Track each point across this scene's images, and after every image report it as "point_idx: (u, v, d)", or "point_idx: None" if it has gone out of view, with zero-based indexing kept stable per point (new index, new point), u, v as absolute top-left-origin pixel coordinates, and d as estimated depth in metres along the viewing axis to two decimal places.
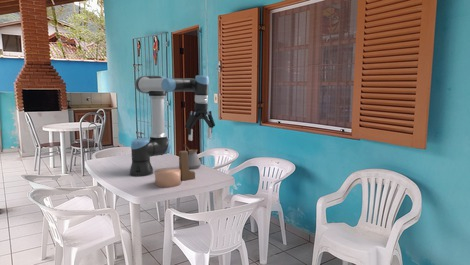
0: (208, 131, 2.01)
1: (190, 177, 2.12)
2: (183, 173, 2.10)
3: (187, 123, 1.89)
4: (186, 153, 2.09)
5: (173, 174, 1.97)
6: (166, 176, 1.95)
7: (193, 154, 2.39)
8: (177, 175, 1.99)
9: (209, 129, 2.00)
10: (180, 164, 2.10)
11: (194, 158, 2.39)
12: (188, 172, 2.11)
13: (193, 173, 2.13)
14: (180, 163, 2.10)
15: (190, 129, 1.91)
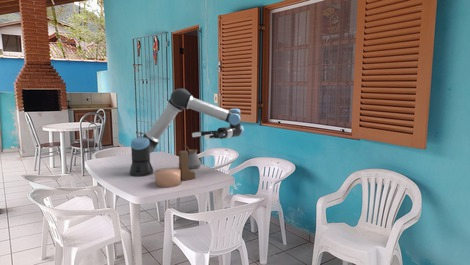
0: (198, 133, 2.23)
1: (190, 177, 2.12)
2: (183, 173, 2.10)
3: (219, 136, 2.15)
4: (186, 153, 2.09)
5: (173, 174, 1.97)
6: (166, 176, 1.95)
7: (193, 154, 2.39)
8: (177, 175, 1.99)
9: (199, 135, 2.24)
10: (180, 164, 2.10)
11: (194, 158, 2.39)
12: (188, 172, 2.11)
13: (193, 173, 2.13)
14: (180, 163, 2.10)
15: None
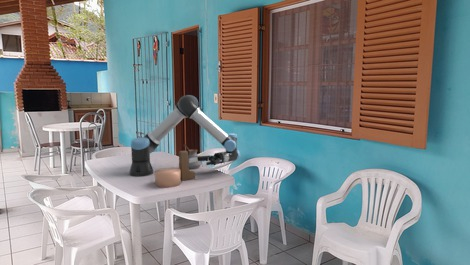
0: (194, 159, 2.24)
1: (190, 177, 2.12)
2: (183, 173, 2.10)
3: (216, 162, 2.16)
4: (186, 153, 2.09)
5: (173, 174, 1.97)
6: (166, 176, 1.95)
7: (193, 154, 2.39)
8: (177, 175, 1.99)
9: (196, 160, 2.25)
10: (180, 164, 2.10)
11: None
12: (188, 172, 2.11)
13: (193, 173, 2.13)
14: (180, 163, 2.10)
15: None
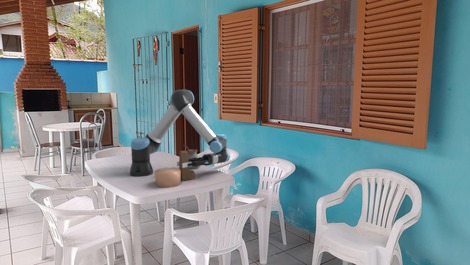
0: None
1: (190, 177, 2.12)
2: (183, 173, 2.10)
3: (198, 164, 2.11)
4: (186, 153, 2.08)
5: (173, 174, 1.97)
6: (166, 176, 1.95)
7: (193, 154, 2.39)
8: (177, 175, 1.99)
9: None
10: (180, 164, 2.10)
11: None
12: (189, 172, 2.11)
13: (193, 173, 2.13)
14: (180, 163, 2.10)
15: None
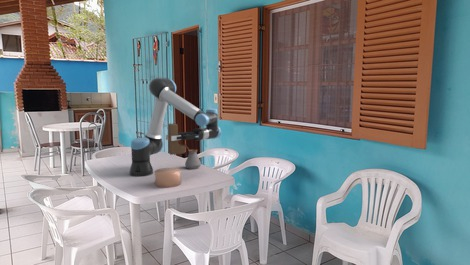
0: None
1: (179, 152, 2.03)
2: (172, 147, 2.00)
3: (188, 137, 2.02)
4: (176, 126, 1.99)
5: (173, 174, 1.97)
6: (166, 176, 1.95)
7: (193, 154, 2.39)
8: (177, 175, 1.99)
9: None
10: (169, 137, 2.00)
11: (194, 158, 2.39)
12: (178, 145, 2.02)
13: (183, 147, 2.04)
14: (169, 136, 2.00)
15: (181, 138, 2.02)
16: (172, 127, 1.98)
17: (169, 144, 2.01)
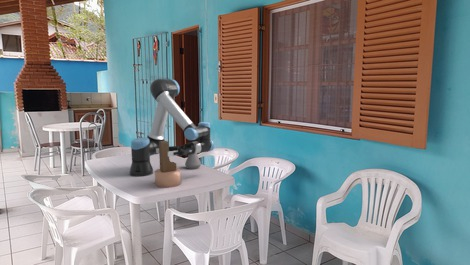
0: None
1: (171, 169, 2.00)
2: (164, 164, 1.98)
3: (184, 152, 1.98)
4: (167, 143, 1.97)
5: (173, 174, 1.97)
6: (166, 176, 1.95)
7: (193, 154, 2.39)
8: (177, 175, 1.99)
9: None
10: (160, 155, 1.98)
11: (194, 158, 2.39)
12: (170, 163, 2.00)
13: (174, 164, 2.01)
14: (160, 154, 1.98)
15: None
16: (163, 144, 1.96)
17: (160, 162, 1.99)
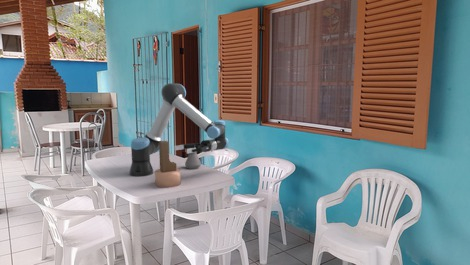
0: (180, 146, 2.14)
1: (171, 169, 2.00)
2: (164, 164, 1.98)
3: (202, 149, 2.07)
4: (167, 143, 1.97)
5: (173, 174, 1.97)
6: (166, 176, 1.95)
7: (193, 154, 2.39)
8: (177, 175, 1.99)
9: (182, 148, 2.15)
10: (160, 155, 1.98)
11: (194, 158, 2.39)
12: (170, 163, 2.00)
13: (174, 164, 2.01)
14: (160, 154, 1.98)
15: None
16: (163, 145, 1.96)
17: (160, 162, 1.99)
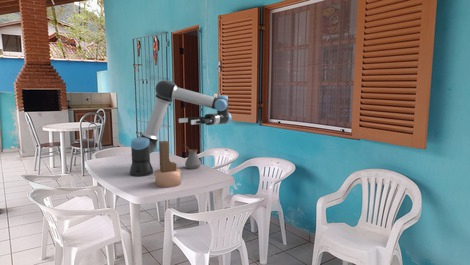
0: (184, 119, 2.20)
1: (171, 169, 2.00)
2: (164, 164, 1.98)
3: (206, 121, 2.13)
4: (167, 143, 1.97)
5: (173, 174, 1.97)
6: (166, 176, 1.95)
7: (193, 154, 2.39)
8: (177, 175, 1.99)
9: (186, 120, 2.21)
10: (160, 155, 1.98)
11: (194, 158, 2.39)
12: (170, 163, 2.00)
13: (174, 164, 2.01)
14: (160, 154, 1.98)
15: (200, 122, 2.12)
16: (163, 145, 1.96)
17: (160, 162, 1.99)
